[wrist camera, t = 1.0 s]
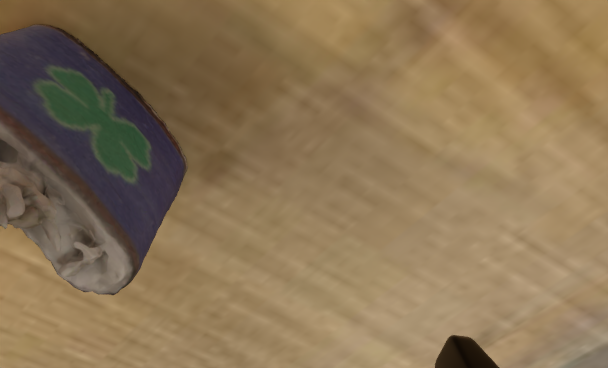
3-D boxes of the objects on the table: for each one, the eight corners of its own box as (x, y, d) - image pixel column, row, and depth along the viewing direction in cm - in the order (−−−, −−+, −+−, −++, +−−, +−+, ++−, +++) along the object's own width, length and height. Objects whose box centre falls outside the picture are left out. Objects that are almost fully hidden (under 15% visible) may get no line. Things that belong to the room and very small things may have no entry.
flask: (10, 47, 21) (-227, 113, 11) (57, 3, 20) (-149, 31, 10) (160, 197, 24) (82, 352, 14) (204, 163, 23) (155, 300, 14)
